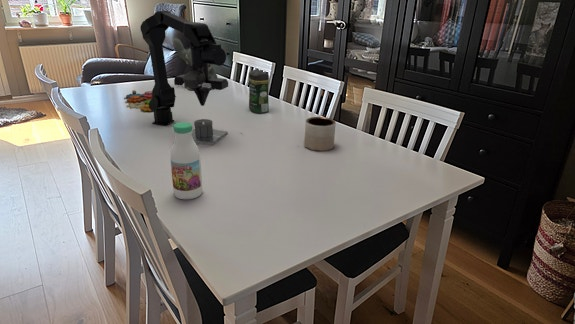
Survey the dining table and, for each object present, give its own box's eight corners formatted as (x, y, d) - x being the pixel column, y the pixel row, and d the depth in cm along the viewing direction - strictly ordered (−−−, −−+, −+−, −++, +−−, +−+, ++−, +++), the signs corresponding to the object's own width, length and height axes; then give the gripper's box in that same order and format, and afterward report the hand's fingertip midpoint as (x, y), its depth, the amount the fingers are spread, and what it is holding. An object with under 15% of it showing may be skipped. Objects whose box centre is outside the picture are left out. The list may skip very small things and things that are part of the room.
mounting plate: (180, 140, 141) (179, 128, 139) (197, 129, 153) (197, 117, 151) (212, 145, 138) (211, 132, 136) (227, 133, 149) (227, 121, 147)
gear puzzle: (167, 112, 174) (166, 103, 172) (129, 115, 167) (127, 106, 165) (156, 95, 199) (156, 87, 197) (123, 97, 192) (122, 89, 191)
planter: (336, 143, 144) (338, 118, 140) (329, 153, 135) (332, 128, 131) (308, 139, 147) (310, 115, 143) (300, 149, 138) (301, 123, 134)
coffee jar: (246, 109, 180) (245, 69, 172) (261, 107, 184) (261, 67, 176) (256, 114, 172) (255, 73, 165) (271, 112, 176) (272, 71, 169)
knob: (195, 132, 147) (194, 119, 145) (212, 131, 148) (211, 118, 146) (195, 138, 141) (194, 124, 139) (213, 137, 142) (212, 123, 140)
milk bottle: (176, 186, 109) (170, 119, 101) (204, 186, 110) (199, 119, 102) (171, 200, 102) (163, 129, 94) (201, 200, 103) (196, 129, 95)
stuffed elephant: (174, 89, 208) (170, 37, 197) (197, 82, 226) (194, 34, 214) (204, 94, 201) (201, 40, 190) (225, 86, 219) (224, 36, 208)
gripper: (163, 63, 129) (167, 108, 135) (213, 68, 124) (215, 114, 131) (180, 58, 139) (184, 100, 145) (228, 62, 134) (229, 106, 140)
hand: (202, 105), depth 140 cm, fingers closed
